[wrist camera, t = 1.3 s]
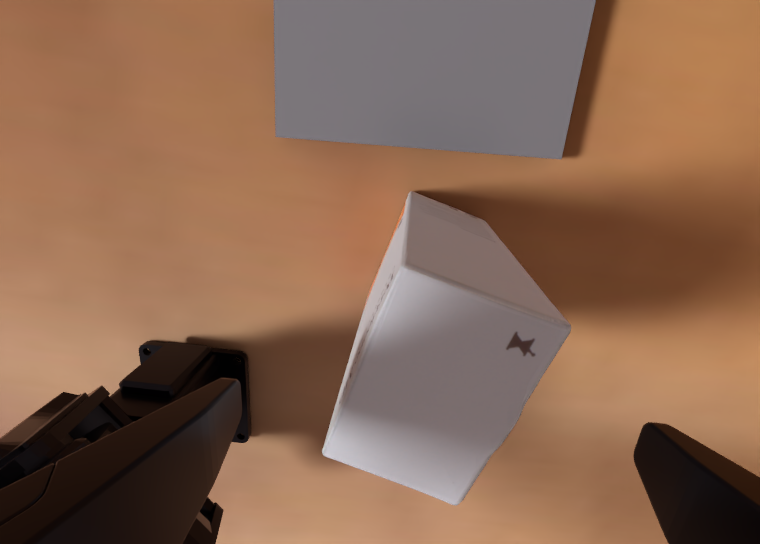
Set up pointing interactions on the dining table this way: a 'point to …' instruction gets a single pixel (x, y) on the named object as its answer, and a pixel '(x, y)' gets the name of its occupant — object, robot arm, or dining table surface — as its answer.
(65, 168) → the dining table surface
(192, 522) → the robot arm
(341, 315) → the dining table surface
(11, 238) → the dining table surface
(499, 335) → the skincare box
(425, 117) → the slate tile
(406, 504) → the dining table surface
